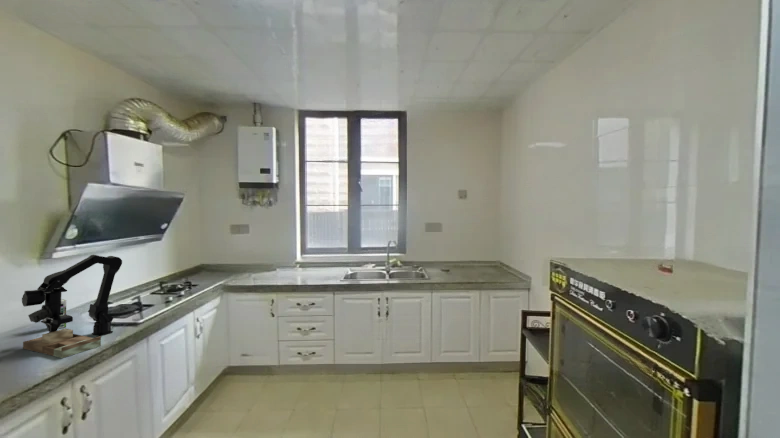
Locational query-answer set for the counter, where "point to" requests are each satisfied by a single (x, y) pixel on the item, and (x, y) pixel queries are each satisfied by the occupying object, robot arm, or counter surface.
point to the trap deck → (63, 345)
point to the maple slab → (57, 336)
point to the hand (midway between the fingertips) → (52, 335)
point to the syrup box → (63, 309)
